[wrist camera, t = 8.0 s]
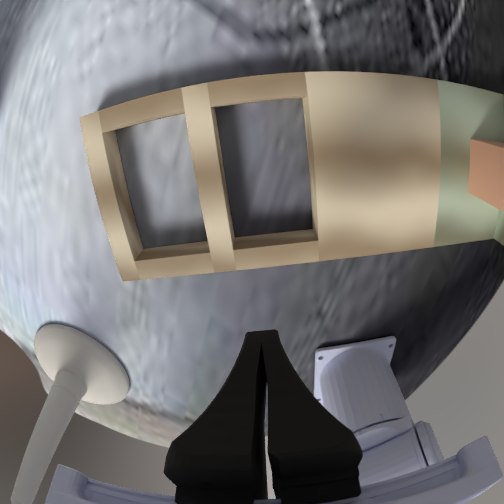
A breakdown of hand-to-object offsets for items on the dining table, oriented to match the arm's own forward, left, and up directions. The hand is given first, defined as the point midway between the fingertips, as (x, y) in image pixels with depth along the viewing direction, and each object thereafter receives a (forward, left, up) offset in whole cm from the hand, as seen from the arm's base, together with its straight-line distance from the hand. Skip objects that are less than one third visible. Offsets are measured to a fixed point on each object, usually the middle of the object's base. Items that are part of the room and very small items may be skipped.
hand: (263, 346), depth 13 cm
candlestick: (-12, +22, -10) cm, 27 cm away
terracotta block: (+6, -18, -7) cm, 20 cm away
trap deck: (+6, -5, -9) cm, 12 cm away
